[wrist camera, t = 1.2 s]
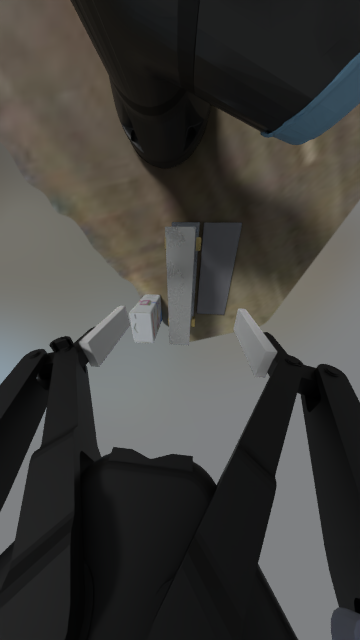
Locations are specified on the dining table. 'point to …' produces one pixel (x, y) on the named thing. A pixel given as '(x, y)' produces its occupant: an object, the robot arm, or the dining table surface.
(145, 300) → the ink box
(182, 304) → the rail
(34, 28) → the dining table surface
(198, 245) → the stand
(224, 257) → the mat
